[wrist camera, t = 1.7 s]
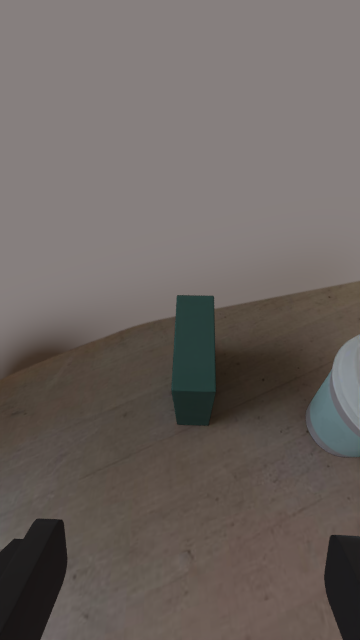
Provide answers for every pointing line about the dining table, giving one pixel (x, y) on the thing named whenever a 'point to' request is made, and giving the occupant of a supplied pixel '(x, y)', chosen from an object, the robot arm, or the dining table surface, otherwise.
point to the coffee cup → (338, 405)
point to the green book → (194, 360)
